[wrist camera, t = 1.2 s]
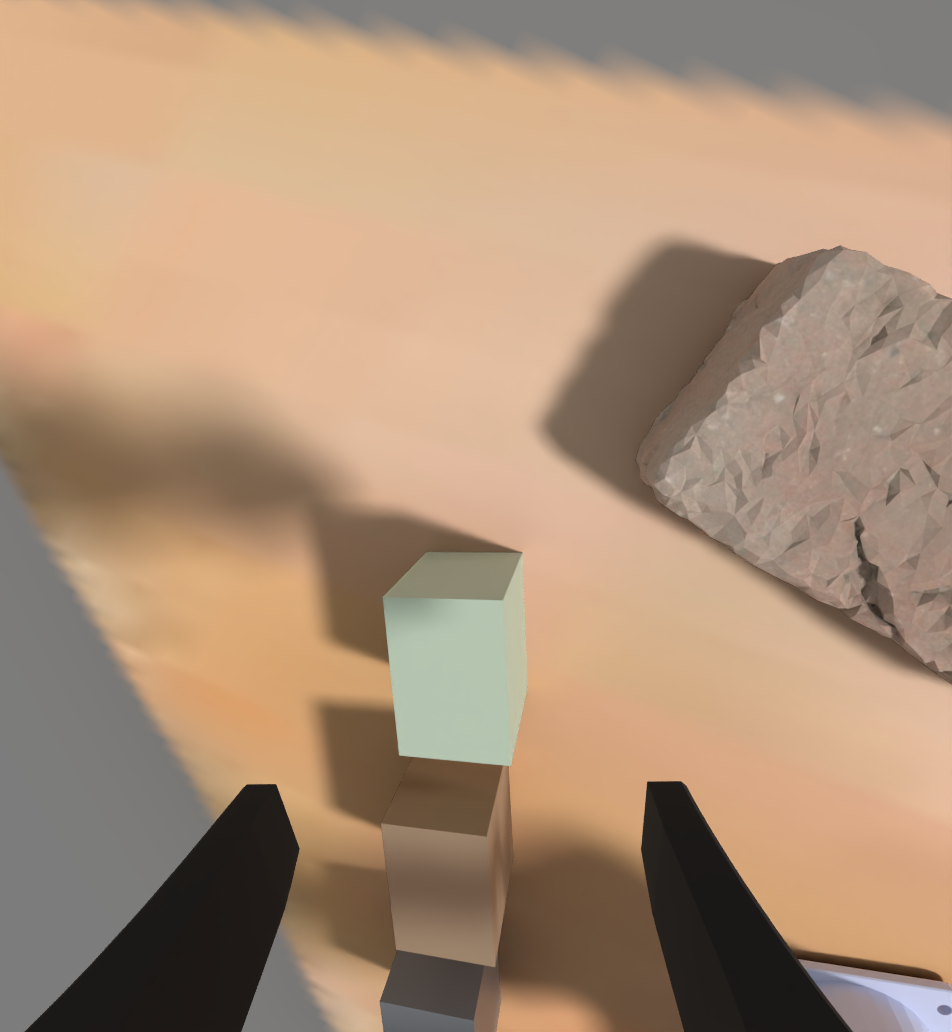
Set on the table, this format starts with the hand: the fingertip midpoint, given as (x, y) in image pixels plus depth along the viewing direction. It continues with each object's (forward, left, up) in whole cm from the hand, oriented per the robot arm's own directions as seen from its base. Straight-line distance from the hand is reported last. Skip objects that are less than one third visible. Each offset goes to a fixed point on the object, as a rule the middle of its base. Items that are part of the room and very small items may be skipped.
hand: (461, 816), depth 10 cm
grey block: (-19, +4, -12) cm, 23 cm away
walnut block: (-10, +3, -12) cm, 16 cm away
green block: (-1, +2, -12) cm, 12 cm away
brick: (+4, -13, -12) cm, 18 cm away
